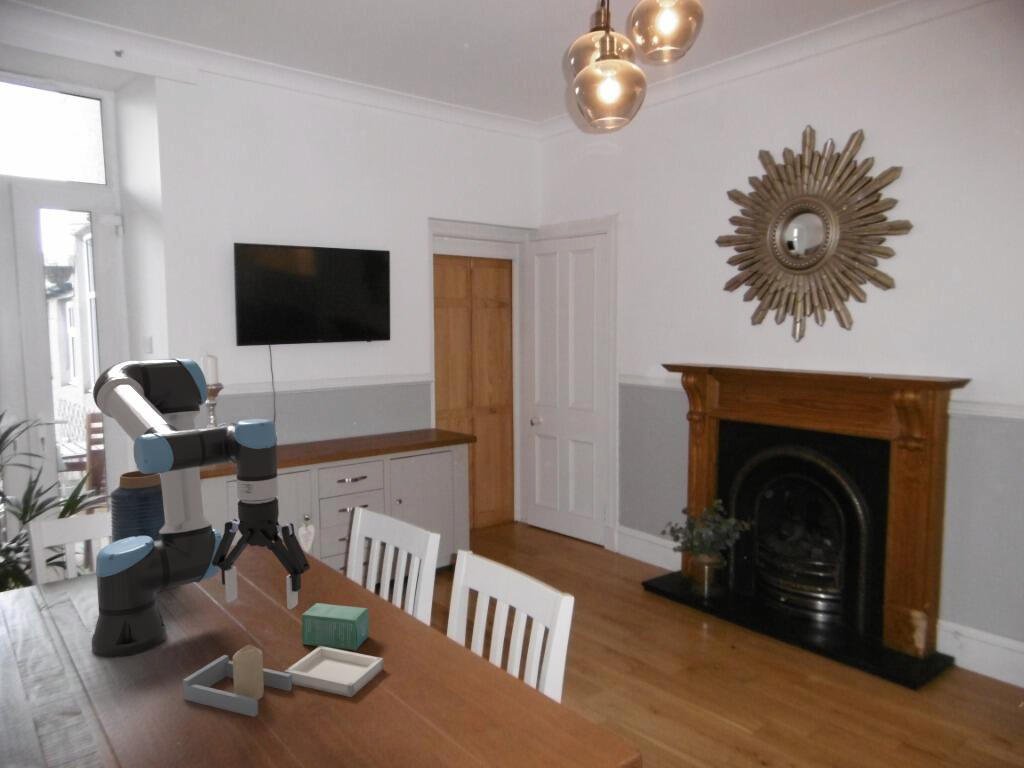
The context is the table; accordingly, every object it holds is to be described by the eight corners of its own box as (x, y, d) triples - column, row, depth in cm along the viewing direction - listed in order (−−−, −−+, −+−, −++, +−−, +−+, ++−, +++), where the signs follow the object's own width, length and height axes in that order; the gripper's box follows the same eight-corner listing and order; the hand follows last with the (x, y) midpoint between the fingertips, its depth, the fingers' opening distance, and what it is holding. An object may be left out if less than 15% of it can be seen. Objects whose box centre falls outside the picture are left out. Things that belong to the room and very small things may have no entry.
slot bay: (183, 699, 141) (182, 679, 141) (224, 673, 152) (223, 654, 151) (254, 717, 135) (253, 696, 135) (292, 688, 145) (291, 669, 145)
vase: (160, 597, 192) (154, 481, 188) (99, 597, 192) (92, 480, 189) (188, 575, 208) (183, 467, 205) (132, 574, 208) (126, 467, 205)
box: (357, 651, 162) (356, 619, 161) (301, 646, 164) (300, 614, 163) (370, 637, 169) (369, 606, 168) (316, 632, 171) (315, 601, 171)
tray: (284, 682, 148) (284, 671, 148) (320, 656, 159) (320, 645, 159) (351, 697, 142) (351, 685, 142) (383, 669, 153) (383, 658, 153)
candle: (238, 689, 145) (237, 642, 144) (267, 688, 145) (265, 641, 144) (230, 704, 139) (228, 655, 138) (259, 703, 140) (258, 654, 139)
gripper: (190, 499, 140) (194, 604, 143) (305, 507, 135) (309, 617, 137) (214, 490, 148) (218, 590, 150) (325, 497, 142) (328, 601, 144)
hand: (261, 603), depth 143 cm, fingers open, 13 cm apart
